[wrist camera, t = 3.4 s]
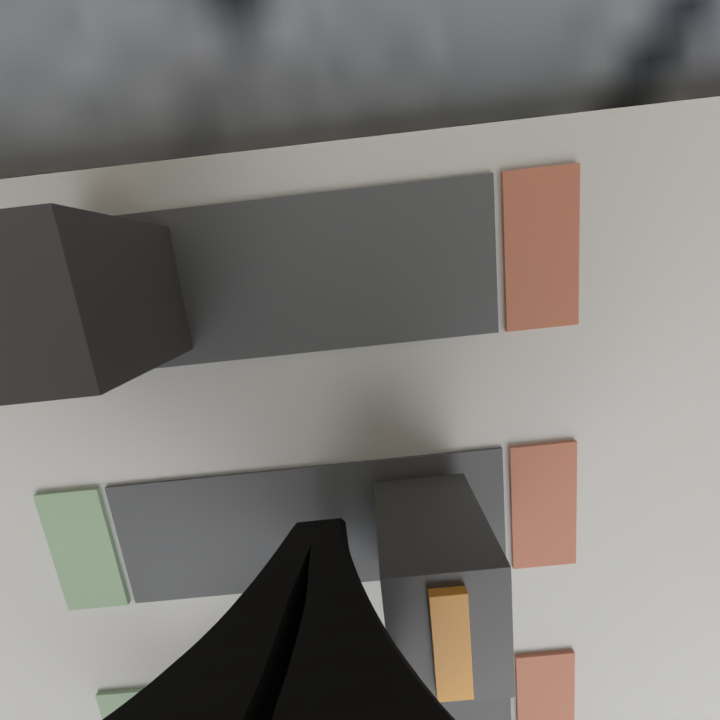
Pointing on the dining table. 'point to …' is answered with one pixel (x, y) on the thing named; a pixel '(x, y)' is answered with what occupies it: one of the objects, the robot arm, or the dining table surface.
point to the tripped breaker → (445, 587)
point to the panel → (370, 395)
